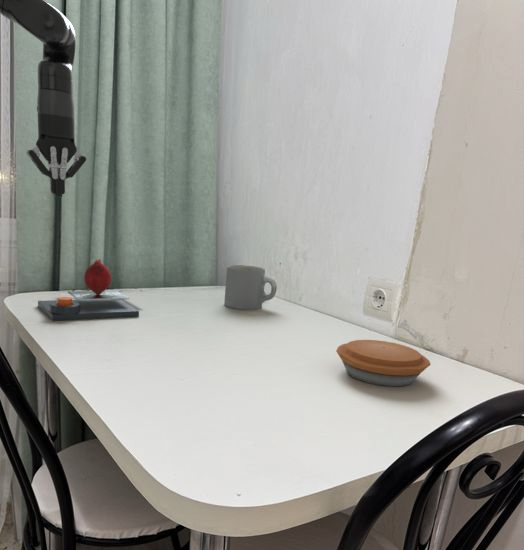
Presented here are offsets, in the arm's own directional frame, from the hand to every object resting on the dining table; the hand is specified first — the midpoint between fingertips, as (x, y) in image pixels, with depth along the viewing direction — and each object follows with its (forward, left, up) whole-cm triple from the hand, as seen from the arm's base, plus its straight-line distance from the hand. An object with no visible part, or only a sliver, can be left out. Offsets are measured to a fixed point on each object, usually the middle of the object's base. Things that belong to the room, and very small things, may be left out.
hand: (58, 196), depth 117 cm
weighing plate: (+5, -14, -21) cm, 26 cm away
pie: (+35, -73, -24) cm, 84 cm away
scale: (+2, -17, -24) cm, 29 cm away
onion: (+5, -14, -21) cm, 25 cm away
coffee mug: (+43, -19, -24) cm, 53 cm away
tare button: (-4, -21, -21) cm, 30 cm away
